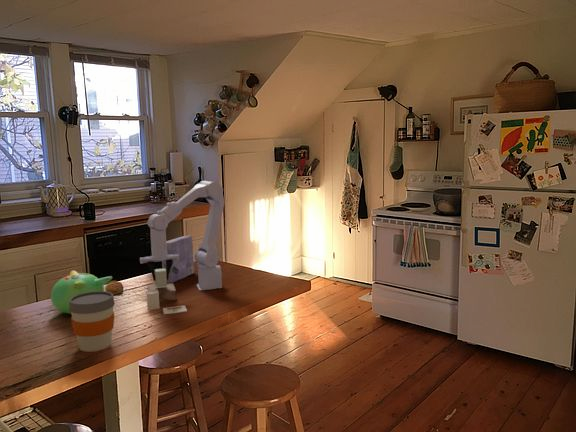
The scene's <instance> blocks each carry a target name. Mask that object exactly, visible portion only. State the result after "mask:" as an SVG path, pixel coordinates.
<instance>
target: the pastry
mask: <svg viewBox="0 0 576 432" xmlns="http://www.w3.org/2000/svg"><path fill="white" fill-rule="evenodd" d="M124 287H125V286H124V285H123V284H122V282H121V281H117V280H110V281H109V282H108V283H106V284H105V288H104V291H105V292H110V293H112V294H113V296H114V295H116V294H118V295H119V294H122V293H123V291H124Z"/></svg>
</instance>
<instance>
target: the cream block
mask: <svg viewBox="0 0 576 432" xmlns="http://www.w3.org/2000/svg"><path fill="white" fill-rule="evenodd" d="M146 305H147V306H146V307H147V310H148V311H152V310H159V309H160V308H161V307H160V302H159V292H158V290H150V291H148V290H146Z"/></svg>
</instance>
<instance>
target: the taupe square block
mask: <svg viewBox="0 0 576 432" xmlns="http://www.w3.org/2000/svg"><path fill="white" fill-rule="evenodd" d="M150 290H158V292H159V303H160V302H168V301H175V300H177V290H176V287H175V284H174V282H173V283H167V286H162V287H156V284H153V285H147V291H150Z"/></svg>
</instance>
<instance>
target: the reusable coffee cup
mask: <svg viewBox="0 0 576 432" xmlns="http://www.w3.org/2000/svg"><path fill="white" fill-rule="evenodd" d="M114 306H115V299H114V295H113V294H112V293H110V292H106V290H104V291H94V292H87V293H82V294H78V295H76V296H73V297H72V298H71V299H70V301H69V311H70V312H71V314H70V315H71V317H70V321H71V325H72V329H73V334H75V336H76V339H77V343H78V348H79V350H80V351H82V352H88V353H89V352H98V351H101V350H104V349H107V348H109V347H110V346H111V345H112V334H113V329H114V327H115V326H114V324H115V323H114V322H115V321H114V320H115V311H114Z"/></svg>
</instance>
